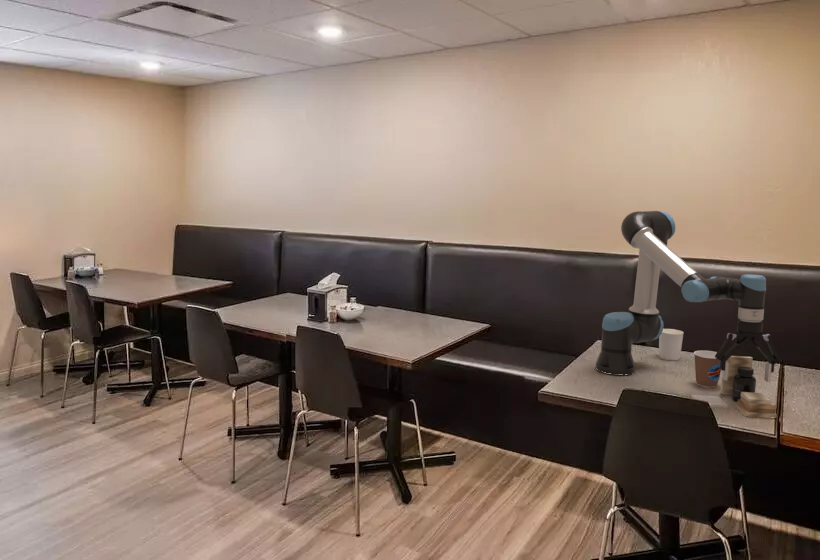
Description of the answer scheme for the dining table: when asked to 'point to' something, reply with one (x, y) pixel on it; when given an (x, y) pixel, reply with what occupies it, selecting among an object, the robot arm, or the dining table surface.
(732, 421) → the dining table surface
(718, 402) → the grey pad
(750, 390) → the supplement bottle
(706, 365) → the coffee cup
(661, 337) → the white paper cup
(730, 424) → the dining table surface
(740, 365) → the set of wooden blocks
